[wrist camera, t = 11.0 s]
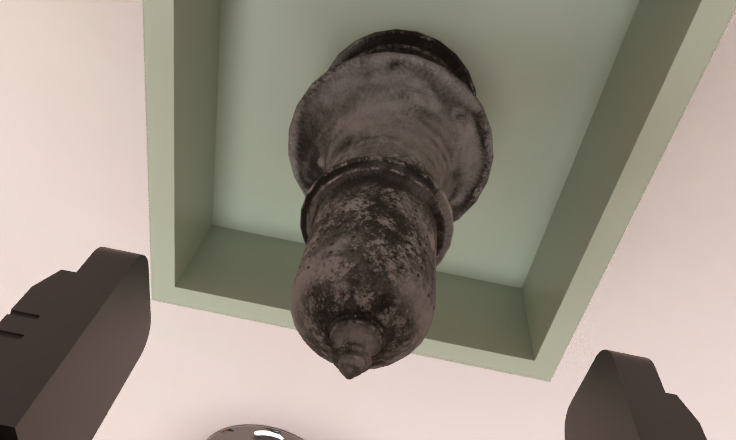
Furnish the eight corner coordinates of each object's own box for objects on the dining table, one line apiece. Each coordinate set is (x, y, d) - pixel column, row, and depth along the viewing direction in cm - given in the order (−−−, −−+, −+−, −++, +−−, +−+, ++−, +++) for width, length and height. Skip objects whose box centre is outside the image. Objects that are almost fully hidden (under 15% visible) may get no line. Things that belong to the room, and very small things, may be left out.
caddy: (206, -178, 17) (137, -185, 13) (692, -76, 17) (765, -53, 13) (197, 229, 24) (151, 299, 21) (533, 298, 24) (549, 381, 21)
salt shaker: (523, 78, 19) (611, 341, 9) (427, 212, 22) (412, 523, 12) (360, -18, 18) (253, 158, 8) (283, 137, 21) (134, 406, 11)
